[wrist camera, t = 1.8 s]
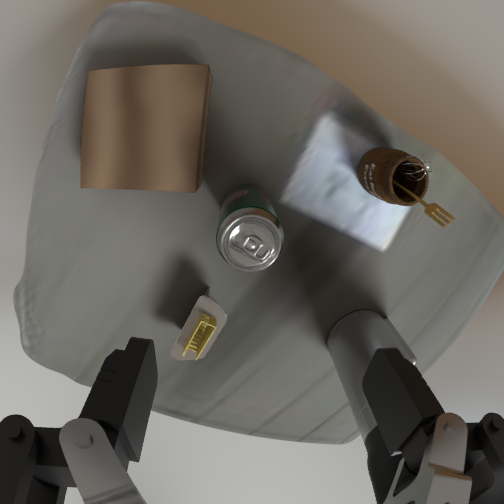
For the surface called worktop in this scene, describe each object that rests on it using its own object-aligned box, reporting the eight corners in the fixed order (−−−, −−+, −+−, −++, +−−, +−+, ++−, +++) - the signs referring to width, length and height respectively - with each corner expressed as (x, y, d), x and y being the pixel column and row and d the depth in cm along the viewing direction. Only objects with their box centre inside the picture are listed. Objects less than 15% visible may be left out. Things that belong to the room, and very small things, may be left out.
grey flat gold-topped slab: (277, 275, 35) (286, 304, 29) (215, 369, 41) (213, 402, 35) (188, 232, 33) (177, 254, 27) (140, 339, 38) (128, 370, 32)
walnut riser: (212, 76, 26) (208, 64, 21) (201, 184, 30) (195, 192, 26) (108, 79, 25) (88, 71, 20) (101, 180, 29) (80, 188, 25)
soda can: (240, 174, 30) (242, 195, 19) (277, 200, 32) (301, 236, 20) (213, 212, 32) (201, 253, 20) (251, 236, 33) (259, 288, 22)
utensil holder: (385, 137, 29) (450, 144, 18) (406, 183, 31) (470, 207, 20) (347, 161, 30) (402, 177, 19) (370, 207, 32) (427, 242, 21)
